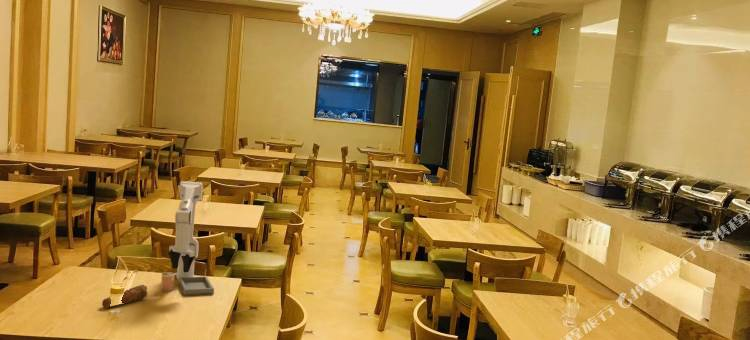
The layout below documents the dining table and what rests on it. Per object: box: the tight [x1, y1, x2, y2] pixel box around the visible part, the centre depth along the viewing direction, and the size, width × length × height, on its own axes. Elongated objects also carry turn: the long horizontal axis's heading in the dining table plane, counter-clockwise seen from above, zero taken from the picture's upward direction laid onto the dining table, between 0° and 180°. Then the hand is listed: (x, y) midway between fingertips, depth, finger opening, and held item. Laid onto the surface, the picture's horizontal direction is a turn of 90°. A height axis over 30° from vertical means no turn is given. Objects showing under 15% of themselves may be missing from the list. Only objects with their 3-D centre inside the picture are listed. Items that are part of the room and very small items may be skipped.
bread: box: [101, 284, 148, 309], centre depth 251 cm, size 6×19×6 cm, turn 150°
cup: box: [160, 271, 176, 292], centre depth 272 cm, size 5×5×7 cm
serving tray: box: [178, 275, 215, 296], centre depth 277 cm, size 18×12×2 cm, turn 25°
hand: (180, 270), depth 269 cm, fingers open, 7 cm apart
